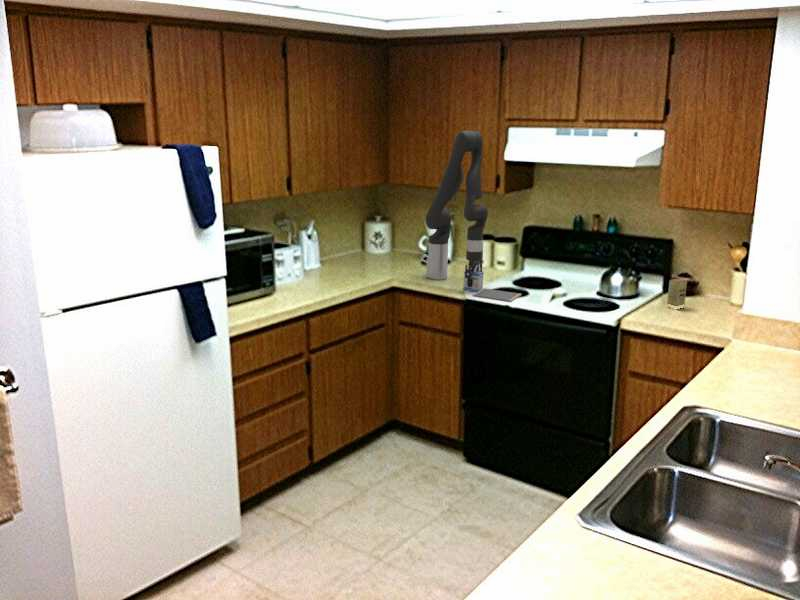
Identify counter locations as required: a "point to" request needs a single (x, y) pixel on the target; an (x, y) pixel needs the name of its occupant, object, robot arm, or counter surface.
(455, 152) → the robot arm
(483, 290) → the mat
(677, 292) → the shoe polish box
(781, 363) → the counter surface
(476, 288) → the medicine box
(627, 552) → the counter surface
